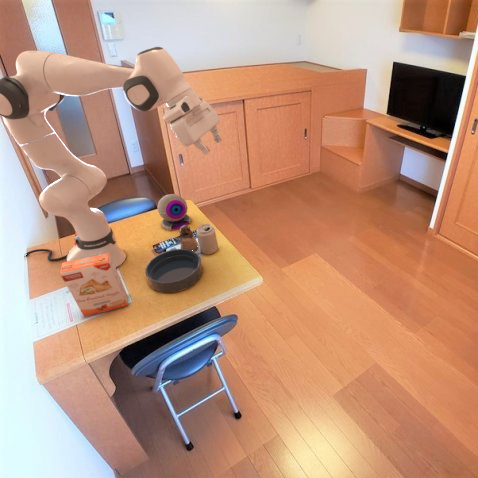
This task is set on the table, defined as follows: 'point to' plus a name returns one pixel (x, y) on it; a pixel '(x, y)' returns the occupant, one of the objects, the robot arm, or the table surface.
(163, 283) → the bowl
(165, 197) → the webcam
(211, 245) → the can
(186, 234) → the figurine
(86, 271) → the cracker box
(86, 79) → the robot arm
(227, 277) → the table surface
